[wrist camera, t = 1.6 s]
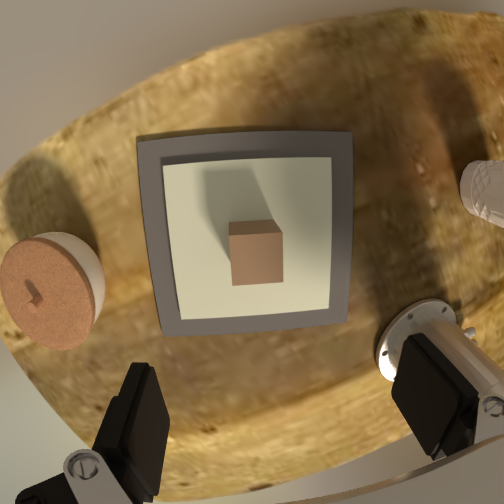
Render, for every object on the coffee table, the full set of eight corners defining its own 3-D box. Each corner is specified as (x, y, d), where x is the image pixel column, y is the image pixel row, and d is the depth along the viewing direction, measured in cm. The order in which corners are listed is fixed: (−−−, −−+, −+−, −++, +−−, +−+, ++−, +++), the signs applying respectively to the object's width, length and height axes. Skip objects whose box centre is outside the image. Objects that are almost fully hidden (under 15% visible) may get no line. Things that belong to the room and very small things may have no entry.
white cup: (451, 214, 30) (510, 236, 21) (458, 149, 28) (520, 154, 18) (490, 221, 31) (544, 242, 21) (497, 163, 29) (553, 172, 19)
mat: (349, 132, 27) (352, 132, 26) (344, 319, 33) (346, 322, 32) (138, 142, 26) (137, 142, 25) (164, 333, 32) (163, 336, 31)
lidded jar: (27, 232, 27) (-25, 257, 18) (104, 209, 28) (57, 232, 19) (56, 317, 31) (18, 361, 22) (132, 307, 31) (103, 358, 22)
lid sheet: (328, 157, 27) (351, 157, 22) (326, 304, 32) (344, 333, 26) (164, 165, 26) (148, 167, 21) (182, 315, 31) (174, 347, 25)
